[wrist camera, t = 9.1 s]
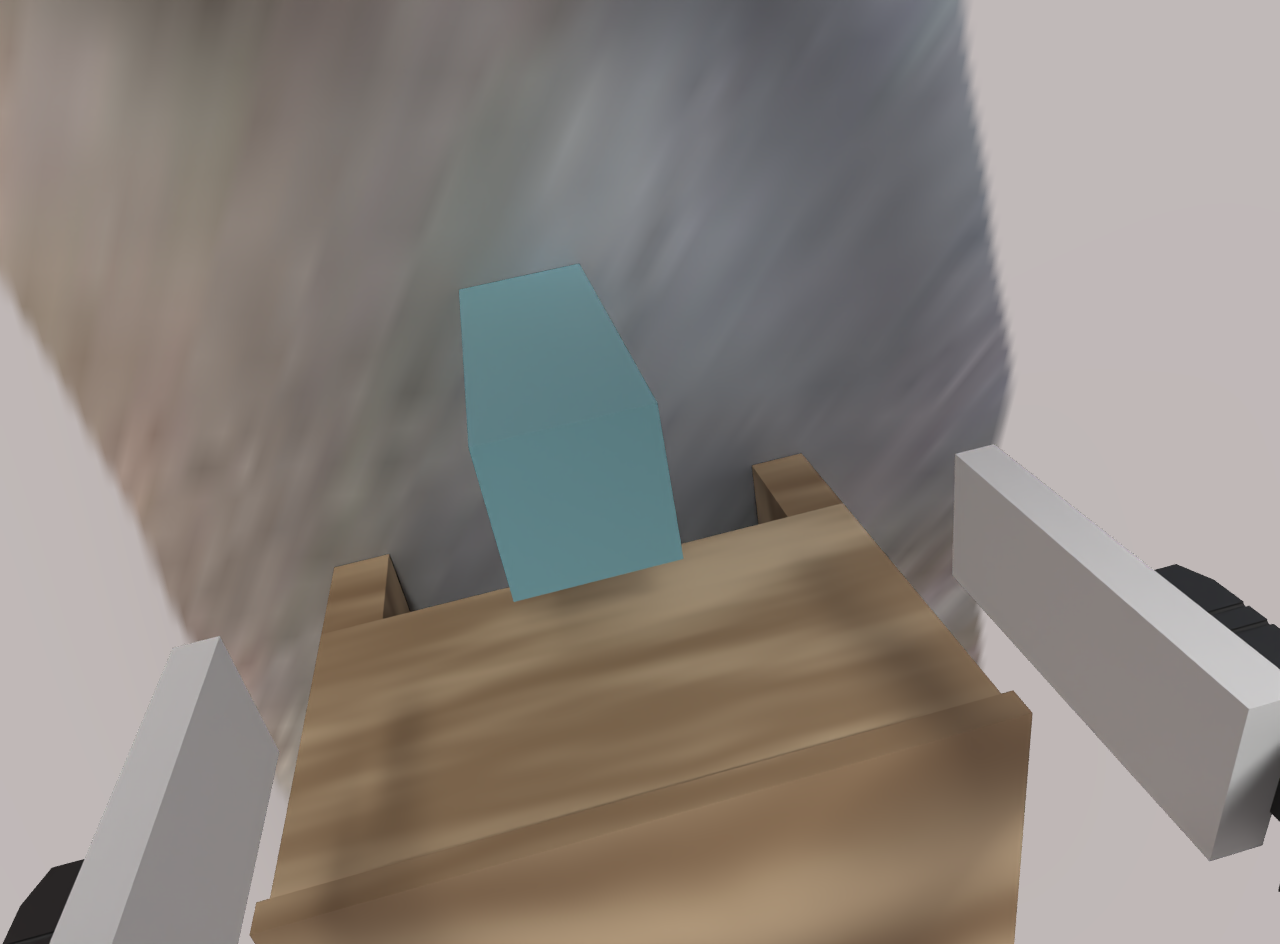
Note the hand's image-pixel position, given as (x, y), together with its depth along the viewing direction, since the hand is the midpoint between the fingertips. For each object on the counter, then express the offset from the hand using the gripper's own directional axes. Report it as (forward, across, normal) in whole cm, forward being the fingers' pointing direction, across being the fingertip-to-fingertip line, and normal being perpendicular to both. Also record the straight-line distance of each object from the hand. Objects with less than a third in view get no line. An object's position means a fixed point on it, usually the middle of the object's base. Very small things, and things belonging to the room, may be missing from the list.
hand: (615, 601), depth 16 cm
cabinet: (+16, 0, -14) cm, 21 cm away
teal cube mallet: (+16, 0, -11) cm, 19 cm away
